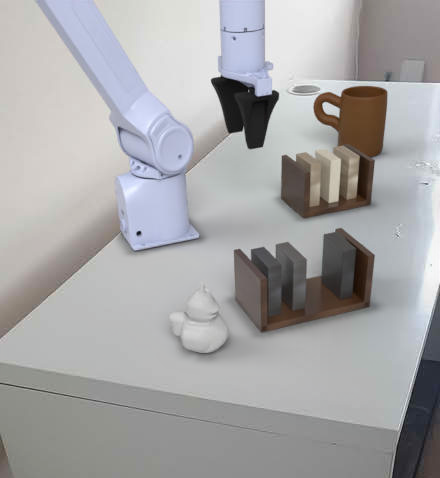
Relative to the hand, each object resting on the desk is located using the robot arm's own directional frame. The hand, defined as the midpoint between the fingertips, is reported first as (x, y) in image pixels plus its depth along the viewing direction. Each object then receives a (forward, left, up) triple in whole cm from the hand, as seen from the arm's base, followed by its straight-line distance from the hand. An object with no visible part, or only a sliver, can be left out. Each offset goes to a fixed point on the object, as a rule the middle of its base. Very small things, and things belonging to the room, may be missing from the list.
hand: (245, 139), depth 100 cm
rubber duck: (-19, -34, -10) cm, 40 cm away
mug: (+24, +14, -10) cm, 29 cm away
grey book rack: (-5, -30, -9) cm, 32 cm away
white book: (+11, -4, -9) cm, 15 cm away
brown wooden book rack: (+11, -4, -9) cm, 15 cm away
